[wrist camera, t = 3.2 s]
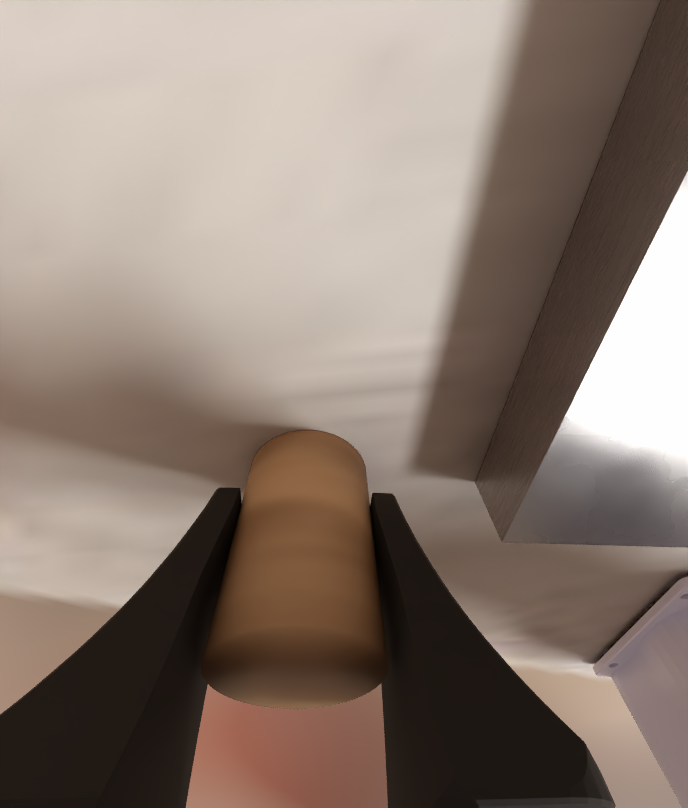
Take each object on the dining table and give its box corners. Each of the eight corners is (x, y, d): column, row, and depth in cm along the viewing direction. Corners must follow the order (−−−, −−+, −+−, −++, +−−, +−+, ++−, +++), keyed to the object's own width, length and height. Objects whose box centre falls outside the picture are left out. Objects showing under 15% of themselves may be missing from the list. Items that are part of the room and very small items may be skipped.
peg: (359, 515, 14) (375, 708, 9) (253, 512, 14) (211, 709, 9) (372, 433, 12) (403, 626, 7) (248, 427, 12) (187, 624, 7)
